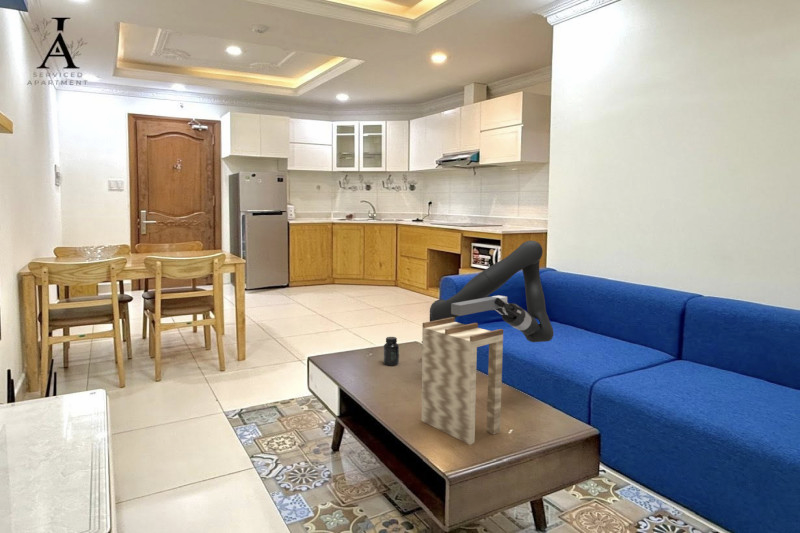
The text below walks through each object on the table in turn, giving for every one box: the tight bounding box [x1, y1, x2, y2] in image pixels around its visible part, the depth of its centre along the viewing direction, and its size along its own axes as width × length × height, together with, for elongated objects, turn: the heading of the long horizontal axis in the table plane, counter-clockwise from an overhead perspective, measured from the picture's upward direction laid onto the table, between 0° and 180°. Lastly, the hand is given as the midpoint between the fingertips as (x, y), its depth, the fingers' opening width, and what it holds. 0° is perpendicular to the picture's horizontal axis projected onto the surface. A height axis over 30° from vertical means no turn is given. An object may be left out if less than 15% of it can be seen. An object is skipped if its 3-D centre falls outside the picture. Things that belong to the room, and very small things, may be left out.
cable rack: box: [420, 317, 504, 445], centre depth 168 cm, size 22×14×34 cm, turn 39°
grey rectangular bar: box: [451, 294, 508, 317], centre depth 179 cm, size 4×24×4 cm, turn 130°
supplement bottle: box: [383, 336, 400, 367], centre depth 234 cm, size 7×7×12 cm
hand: (491, 299), depth 182 cm, fingers closed on grey rectangular bar, 4 cm apart
